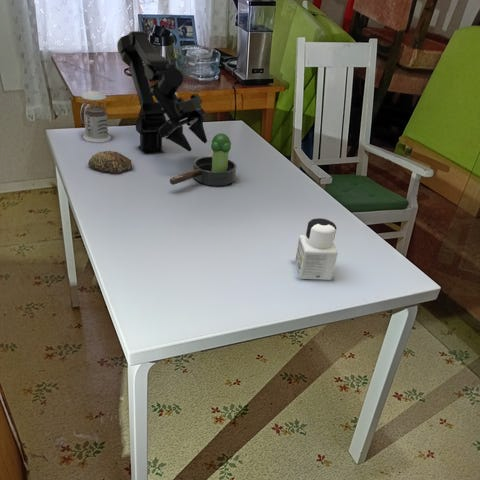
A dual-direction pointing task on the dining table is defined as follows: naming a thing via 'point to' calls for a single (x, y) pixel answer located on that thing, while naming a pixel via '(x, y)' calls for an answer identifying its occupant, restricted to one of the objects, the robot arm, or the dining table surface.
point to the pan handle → (186, 176)
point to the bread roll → (110, 162)
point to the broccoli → (220, 152)
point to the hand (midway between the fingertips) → (198, 146)
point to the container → (317, 250)
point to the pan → (214, 177)
